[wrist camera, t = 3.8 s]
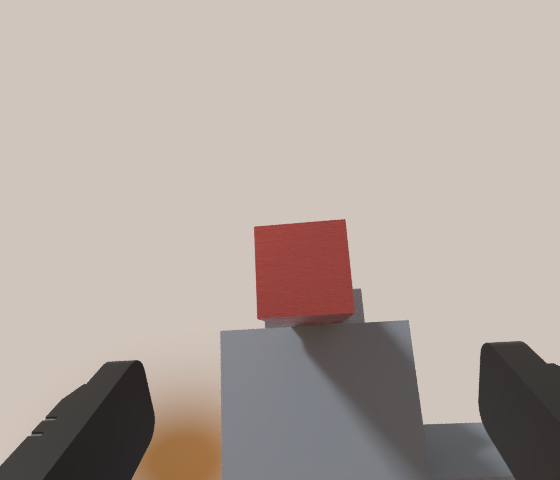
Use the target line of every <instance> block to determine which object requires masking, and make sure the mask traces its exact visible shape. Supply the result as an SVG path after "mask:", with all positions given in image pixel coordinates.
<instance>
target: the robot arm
mask: <svg viewBox="0 0 560 480" xmlns="http://www.w3.org/2000/svg"><path fill="white" fill-rule="evenodd" d="M478 403H479V411H480V416H481V419H482V423H483V425H484V428H485V430H486V432H487V434H488V435H489V437H490V439H491V440H492V442H493V444H494V445H495V447H496V449H497V450H498V452H499V453H500V455H501V457H502V458H503V460H504V462H505V463H506V465H507V467H508V468H509V470H510V471H511V473H512V475H513V476H514V478H515V480H560V366H558V365H556V364H554V363H553V364H552V363H551V364H547V363H546V362H544V360H542V359H541V358H540V357H539V356H538V355H537V354H536V353H535V352H534V351H533V350H532V349H531V348H530V347H529V346H528V345H527V344H525V343H524V342H521V341H515V342H495V343H485V344H483V346H482V348H481V356H480V378H479V399H478ZM154 424H155V416H154V410H153V405H152V401H151V397H150V392H149V388H148V383H147V379H146V374H145V370H144V367H143V364H142V363H141V362H140V361H138V360H135V361H134V360H133V361H115V362H107V363H105V364H104V365H103V366H102V367H101V368H100V369H99V371H98V372H97V373H96V374H95V375H94V376H93V377H92V378H91V379H90V381H89V382H88V383H87V384H84V385H82V386H81V387H79V388H78V389H76V390H75V391H74V392H72V393H71V394H69V395H68V396H66V397H65V398H64V399H62V400H61V401H60V402H59V403H58V404H57V405H56V406H55V408H54V409H53V410H52V411H51V412H50V413H49V414H48V415H47V416H46V420H45V421H42V422H41V423H40V424H39V425H38V426H37V427H36V428H35V429H34V430H33V431H32V435H31V436H28V437H27V438H26V439H25V440H24V441H23V442H22V443H21V444H20V445H19V446H18V447H17V449H16V450H15V451H14V452H13V453H12V454H11V455H10V456H9V457H8V458H7V459H6V461H5V462H4V463H3V464H2V465H1V466H0V480H131V479H132V477H133V475H134V473H135V471H136V469H137V467H138V465H139V463H140V461H141V459H142V457H143V455H144V453H145V451H146V449H147V448H148V446H149V444H150V441H151V439H152V436H153V432H154Z"/></svg>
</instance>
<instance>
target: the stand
mask: <svg viewBox="0 0 560 480" xmlns="http://www.w3.org/2000/svg"><path fill="white" fill-rule="evenodd" d="M220 335H221V336H220V337H221V423H222V424H221V428H222V480H515V478H514V476H513V475H512V473H511V471H510V470H509V468H508V467H507V465H506V463H505V462H504V460H503V458H502V457H501V455H500V453H499V452H498V450H497V449H496V447H495V445H494V444H493V442H492V440H491V439H490V437H489V435H488V434H487V432H486V430H485V428H484V425H483V423H459V424H458V423H457V424H428V425H427V424H426V425H423V421H422V414H421V407H420V400H419V392H418V386H417V378H416V371H415V364H414V356H413V349H412V343H411V335H410V328H409V321H408V320H406V321H387V322H369V323H352V324H335V325H318V326H300V327H283V328H265V329H249V330H231V331H221V332H220Z"/></svg>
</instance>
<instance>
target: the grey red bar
mask: <svg viewBox="0 0 560 480" xmlns="http://www.w3.org/2000/svg"><path fill="white" fill-rule="evenodd" d="M254 236H255V264H256V292H257V317H258V318H257V319H259V320H263V321H265V328H283V327H300V326H318V325H335V324H352V323H365V322H364V313H363V303H362V294H361V289H352V280H351V269H350V260H349V251H348V240H347V231H346V222H345V219H344V220H330V221H319V222H307V223H294V224H282V225H270V226H258V227H254Z"/></svg>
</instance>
